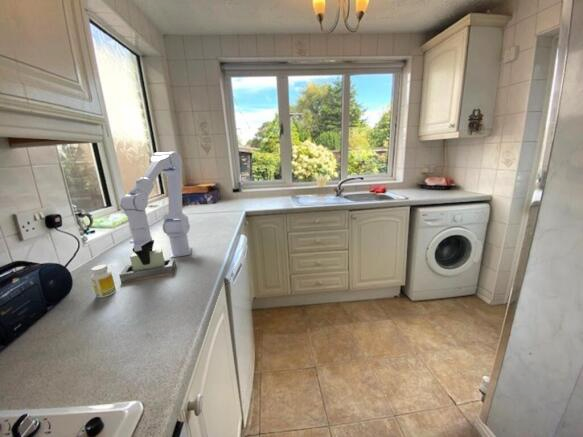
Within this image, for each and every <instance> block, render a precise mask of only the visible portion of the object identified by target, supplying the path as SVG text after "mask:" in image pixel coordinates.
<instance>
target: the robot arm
mask: <svg viewBox="0 0 583 437" xmlns="http://www.w3.org/2000/svg"><path fill="white" fill-rule="evenodd" d="M161 173H163V174H165V175H166V176H167V179H168V180H167V186H168V187H167V188H168V190H167V191H168V193H167V194H168V212H167V214H166V215H165V216H164V217H163V223H162V231H163V233H164V234H166V236H167V237H168V238H169V244H170V248H171V249H170V250H171V254H170V257H169V258H170V259H171V258H176V257H184V256H189V255H191V252H192V248H193V247H192V246H190V243H189V238H188V233H189V231H190V229H191V226H190V222H189V216H187V215H186V214H185V213H183V190H182V189H183V187H182V186H183V183H182V182H183V181H182V180H183V178H182V176H183V175H182V173H183V158H182V157H181V155H180V154H179V152H177V151H168V152H166V151H165V152H154V153H153V154H152V156H151V157H150V165H149V167H148V168H147V170H146V172H145V174H144V176H143V177H139V178H137V179H136V180H135V183H134V185H133V186H132V187H131V189H130V190H129V192H128V194H125V195H123V197H122V198H121V199H120V204H119V206H120V208H121V209H122V211H124V215H125V216H126V217H127V221H128V225H129V228H130V229H129V230H130V233H131V237H132V239H130V240H129V244H133V248H132V252H133V253H136V254H137V256H138V257H139V258H140V260H141V262H142V264H143V265H147V264H150V251H153V248H154V244H155V240H154V239H153V237H152V234H151V230H150V227H149V221H148V216H147V211H146V208H148V205H149V204H148V203H149V201H148V200H149V196H150V194H151V193H152V191H153V189H154V188H155V183H154V181H155V180H156V179H157V178H158V176H159V175H160V174H161Z"/></svg>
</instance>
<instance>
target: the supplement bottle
mask: <svg viewBox="0 0 583 437" xmlns="http://www.w3.org/2000/svg"><path fill="white" fill-rule="evenodd" d="M91 273H92V274H91V276H90V280H91V283H92V287H93V290H94V293H95V296H96V297H97V298H99V299H101V298H103V299H104V298H107V297H108V296H111V295H113V294H115V293H116V290H117V289H116V284H115V282H114V277H113V274H112V271H111V270H109V269H108V266H107V264H99V265H96V266H94V267H92V268H91Z"/></svg>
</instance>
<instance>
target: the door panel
mask: <svg viewBox="0 0 583 437" xmlns="http://www.w3.org/2000/svg"><path fill="white" fill-rule="evenodd" d="M129 258H130V263H131V265H132V267H133V271H136V270H142V269H148V268H154V267H160V266H164V265H165V261H164V259H165V256H164V252H163V249H162V248H161V249H157V250H156V249H155V250H152V251H150V264H147V265H143V264H142V262H141V260H140V258H139V257H138V256H137V254H136V253H135V252H133V253H132V254H131V255H130V256H129Z"/></svg>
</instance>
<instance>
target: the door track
mask: <svg viewBox="0 0 583 437" xmlns="http://www.w3.org/2000/svg"><path fill="white" fill-rule="evenodd" d="M164 261H165V265H164V266H160V267H154V268H148V269H142V270H136V271H133V267H132V264H128V265H125V266H124V268H123V270H122V271H121V272H120V273H119V279H120V283H121V284H126V283H131V282H137V281H142V280H148V279H154V278H158V277H159V278H160V277H165V276H171V275H174V274H175V270H176V267H177V263H176V257H173V258H171V257H170V258H166V259H165V258H164Z"/></svg>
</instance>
